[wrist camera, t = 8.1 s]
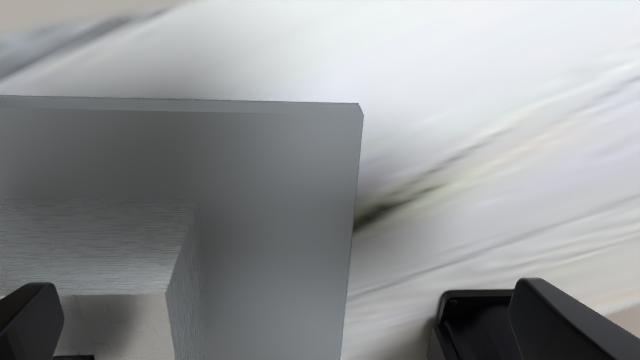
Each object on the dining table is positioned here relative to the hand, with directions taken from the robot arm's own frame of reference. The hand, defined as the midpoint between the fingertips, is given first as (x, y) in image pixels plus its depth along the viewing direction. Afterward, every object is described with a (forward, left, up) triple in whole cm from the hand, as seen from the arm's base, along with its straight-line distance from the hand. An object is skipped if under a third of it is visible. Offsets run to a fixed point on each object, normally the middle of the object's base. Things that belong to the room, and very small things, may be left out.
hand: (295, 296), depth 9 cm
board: (+8, +8, -12) cm, 16 cm away
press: (+8, +8, -10) cm, 15 cm away
